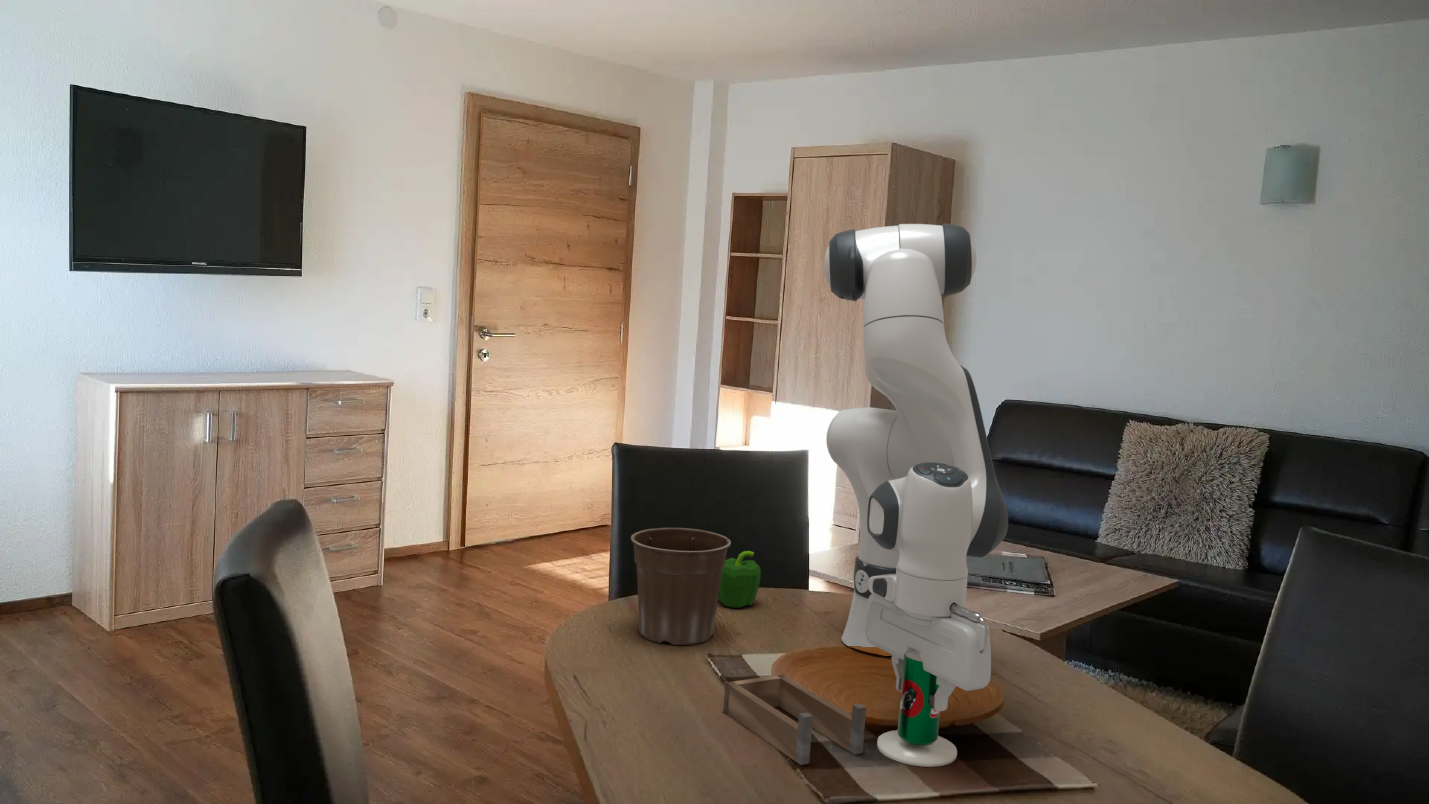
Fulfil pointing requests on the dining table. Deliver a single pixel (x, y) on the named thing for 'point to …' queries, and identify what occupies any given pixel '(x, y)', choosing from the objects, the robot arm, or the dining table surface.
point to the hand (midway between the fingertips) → (920, 700)
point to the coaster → (916, 751)
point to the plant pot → (678, 583)
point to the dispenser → (756, 713)
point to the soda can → (917, 703)
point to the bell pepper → (739, 581)
